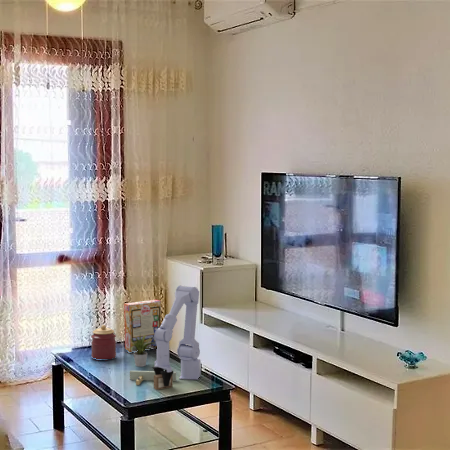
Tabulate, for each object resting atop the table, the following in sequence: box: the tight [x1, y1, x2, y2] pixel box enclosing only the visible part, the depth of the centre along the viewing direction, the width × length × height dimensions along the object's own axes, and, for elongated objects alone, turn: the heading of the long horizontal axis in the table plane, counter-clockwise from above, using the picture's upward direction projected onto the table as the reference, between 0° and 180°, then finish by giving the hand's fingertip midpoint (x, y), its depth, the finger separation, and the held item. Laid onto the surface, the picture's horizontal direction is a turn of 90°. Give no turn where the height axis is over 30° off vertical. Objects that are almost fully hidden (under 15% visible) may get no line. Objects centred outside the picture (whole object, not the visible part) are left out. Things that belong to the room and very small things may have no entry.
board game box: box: [123, 299, 162, 352], centre depth 399 cm, size 20×6×27 cm, turn 126°
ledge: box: [129, 370, 177, 386], centre depth 337 cm, size 22×10×4 cm, turn 85°
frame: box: [153, 374, 174, 391], centre depth 328 cm, size 8×3×6 cm, turn 120°
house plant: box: [130, 334, 155, 368], centre depth 366 cm, size 14×14×16 cm
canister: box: [90, 324, 117, 360], centre depth 382 cm, size 13×13×18 cm
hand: (162, 384), depth 329 cm, fingers open, 7 cm apart
